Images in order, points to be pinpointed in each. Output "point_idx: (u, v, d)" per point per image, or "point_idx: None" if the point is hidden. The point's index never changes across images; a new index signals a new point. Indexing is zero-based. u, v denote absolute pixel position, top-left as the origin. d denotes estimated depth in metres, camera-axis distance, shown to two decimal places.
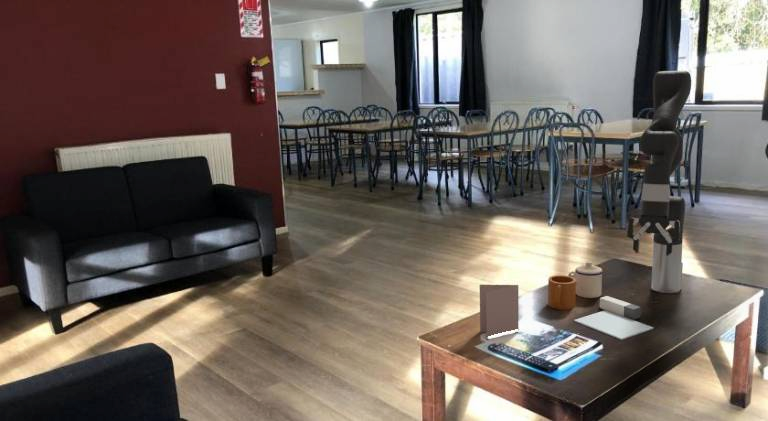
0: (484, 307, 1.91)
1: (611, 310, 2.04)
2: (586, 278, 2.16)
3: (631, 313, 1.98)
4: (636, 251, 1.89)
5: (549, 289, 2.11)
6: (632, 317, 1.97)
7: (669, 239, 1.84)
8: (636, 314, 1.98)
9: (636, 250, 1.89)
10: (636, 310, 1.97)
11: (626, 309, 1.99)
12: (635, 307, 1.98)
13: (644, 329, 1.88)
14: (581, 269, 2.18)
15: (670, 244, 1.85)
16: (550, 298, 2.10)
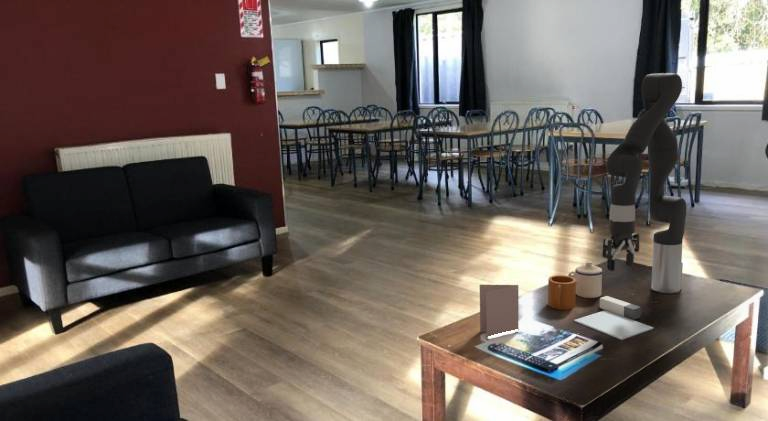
0: (484, 307, 1.91)
1: (611, 310, 2.04)
2: (586, 278, 2.16)
3: (631, 313, 1.98)
4: (614, 269, 1.98)
5: (549, 289, 2.11)
6: (632, 317, 1.97)
7: (633, 251, 2.01)
8: (636, 314, 1.98)
9: (614, 268, 1.98)
10: (636, 310, 1.97)
11: (626, 309, 1.99)
12: (635, 307, 1.98)
13: (644, 329, 1.88)
14: (581, 269, 2.18)
15: None
16: (550, 298, 2.10)
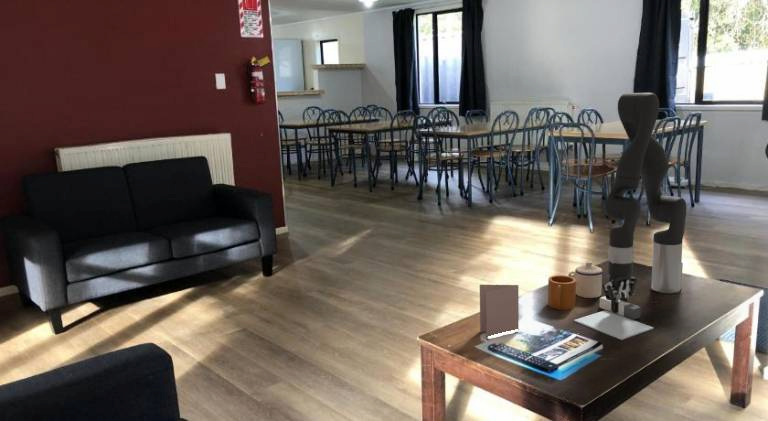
0: (484, 307, 1.91)
1: (611, 310, 2.04)
2: (586, 278, 2.16)
3: (631, 313, 1.98)
4: (617, 311, 2.02)
5: (549, 289, 2.11)
6: (632, 317, 1.97)
7: (627, 295, 2.03)
8: (636, 314, 1.98)
9: (617, 310, 2.02)
10: (636, 310, 1.97)
11: (626, 309, 1.99)
12: (635, 306, 1.98)
13: (644, 329, 1.88)
14: (581, 269, 2.18)
15: (626, 299, 2.04)
16: (550, 298, 2.10)
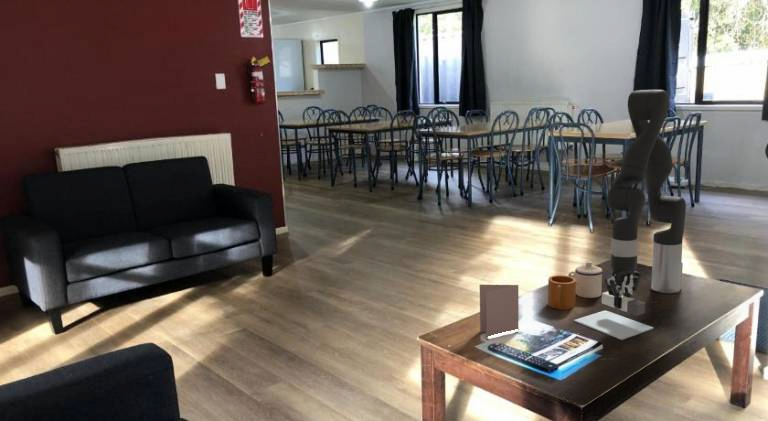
0: (484, 307, 1.91)
1: None
2: (586, 278, 2.16)
3: (634, 309, 1.89)
4: (620, 307, 1.93)
5: (549, 289, 2.11)
6: (636, 313, 1.88)
7: (631, 291, 1.94)
8: (640, 309, 1.89)
9: (621, 306, 1.93)
10: (640, 306, 1.88)
11: (630, 305, 1.90)
12: (639, 302, 1.89)
13: (644, 329, 1.88)
14: (581, 269, 2.18)
15: None
16: (550, 298, 2.10)
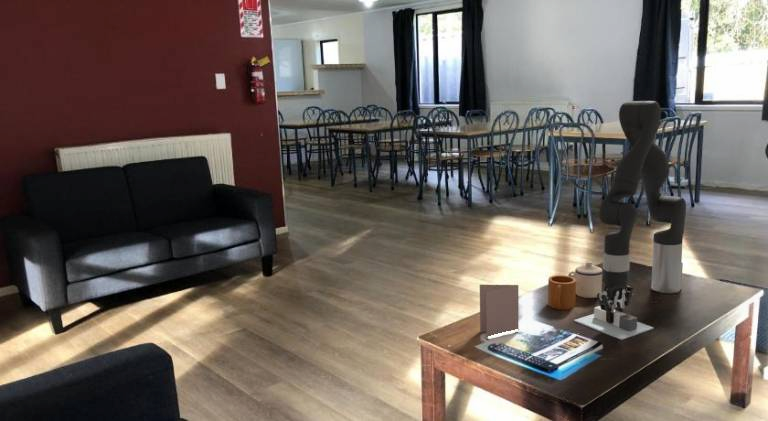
0: (484, 307, 1.91)
1: None
2: (586, 278, 2.16)
3: (626, 324, 1.88)
4: (612, 322, 1.92)
5: (549, 289, 2.11)
6: (628, 328, 1.87)
7: (623, 305, 1.93)
8: (632, 325, 1.88)
9: (613, 321, 1.92)
10: (632, 321, 1.87)
11: (622, 320, 1.89)
12: (631, 317, 1.88)
13: (644, 329, 1.88)
14: (581, 269, 2.18)
15: None
16: (550, 298, 2.10)
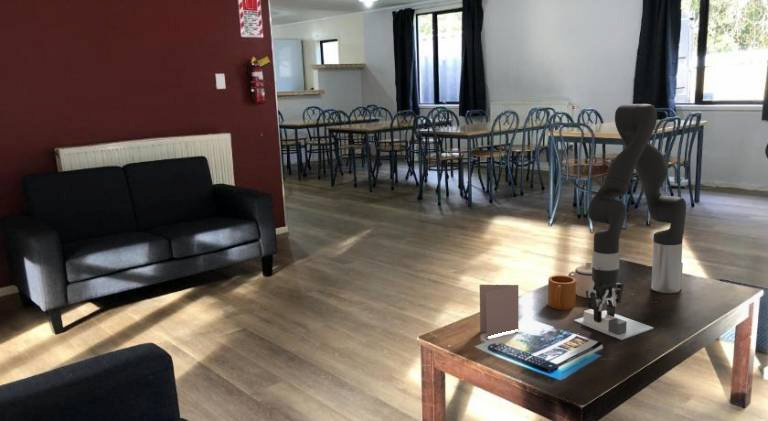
0: (484, 307, 1.91)
1: (595, 324, 1.92)
2: (586, 278, 2.16)
3: (616, 328, 1.86)
4: (600, 321, 1.89)
5: (549, 289, 2.11)
6: (617, 332, 1.85)
7: (615, 303, 1.91)
8: (622, 329, 1.86)
9: (600, 320, 1.89)
10: (621, 325, 1.85)
11: (611, 324, 1.87)
12: (620, 321, 1.86)
13: (644, 329, 1.88)
14: (581, 269, 2.18)
15: None
16: (550, 298, 2.10)
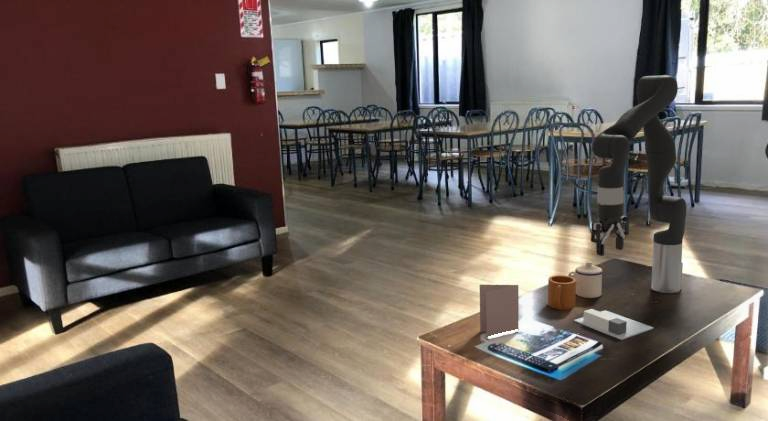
0: (484, 307, 1.91)
1: (595, 324, 1.92)
2: (586, 278, 2.16)
3: (616, 328, 1.86)
4: (603, 254, 1.92)
5: (549, 289, 2.11)
6: (617, 332, 1.85)
7: (623, 235, 1.95)
8: (622, 329, 1.86)
9: (603, 253, 1.92)
10: (621, 325, 1.85)
11: (611, 324, 1.87)
12: (620, 321, 1.86)
13: (644, 329, 1.88)
14: (581, 269, 2.18)
15: (622, 239, 1.96)
16: (550, 298, 2.10)
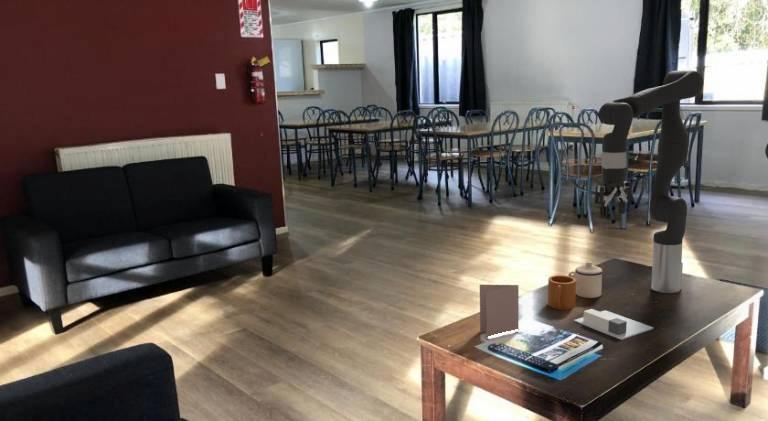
0: (484, 307, 1.91)
1: (595, 324, 1.92)
2: (586, 278, 2.16)
3: (616, 328, 1.86)
4: (606, 216, 2.03)
5: (549, 289, 2.11)
6: (617, 332, 1.85)
7: (625, 199, 2.06)
8: (622, 329, 1.86)
9: (606, 215, 2.02)
10: (621, 325, 1.85)
11: (611, 324, 1.87)
12: (620, 321, 1.86)
13: (644, 329, 1.88)
14: (581, 269, 2.18)
15: (625, 203, 2.07)
16: (550, 298, 2.10)
